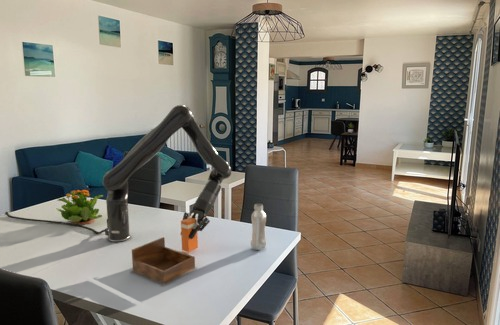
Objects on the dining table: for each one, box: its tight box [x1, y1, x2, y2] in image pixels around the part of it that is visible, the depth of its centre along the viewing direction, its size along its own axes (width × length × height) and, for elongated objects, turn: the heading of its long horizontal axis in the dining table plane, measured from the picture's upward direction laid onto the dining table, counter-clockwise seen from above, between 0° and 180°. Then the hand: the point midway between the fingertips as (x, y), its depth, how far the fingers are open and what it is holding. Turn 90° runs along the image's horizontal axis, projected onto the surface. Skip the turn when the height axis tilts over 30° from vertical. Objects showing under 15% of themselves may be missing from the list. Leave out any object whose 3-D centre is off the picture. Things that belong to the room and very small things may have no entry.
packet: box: [180, 217, 199, 253], centre depth 160 cm, size 4×6×13 cm
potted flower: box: [56, 189, 104, 226], centre depth 197 cm, size 25×24×18 cm
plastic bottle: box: [250, 203, 267, 251], centre depth 163 cm, size 6×7×20 cm
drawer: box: [131, 236, 196, 285], centre depth 144 cm, size 18×16×9 cm
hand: (186, 236), depth 158 cm, fingers closed on packet, 4 cm apart
